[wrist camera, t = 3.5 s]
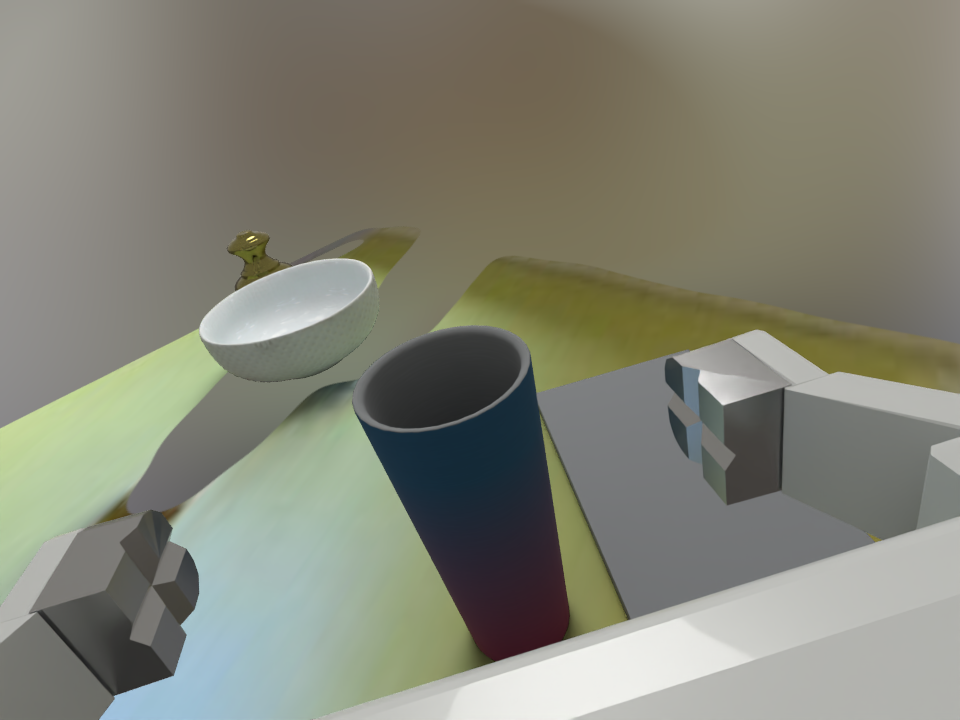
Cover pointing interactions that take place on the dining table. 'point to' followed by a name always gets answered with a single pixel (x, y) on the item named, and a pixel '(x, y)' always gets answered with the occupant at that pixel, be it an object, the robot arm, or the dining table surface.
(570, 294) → the dining table surface
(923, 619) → the robot arm
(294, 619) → the dining table surface
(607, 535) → the mat
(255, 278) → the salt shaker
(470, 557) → the cup
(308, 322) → the cereal bowl
